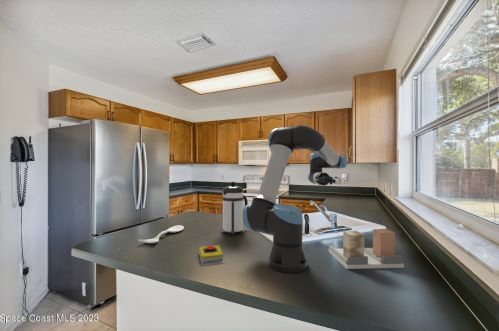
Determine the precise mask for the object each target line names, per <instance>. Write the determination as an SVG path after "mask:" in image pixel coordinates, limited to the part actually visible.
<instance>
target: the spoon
mask: <svg viewBox="0 0 499 331" xmlns="http://www.w3.org/2000/svg"><path fill="white" fill-rule="evenodd" d="M184 228H185V227H184V225H180V224H177V225H174V226H171V227H169V228H167V229H166V230H163V231H161V232H159V234H157V235H156V236H155V237H153V238H148V239H147V238H146V239H138V242H141V243H146V244H156V243H158V242H159V241H160V237H161V236H162V235H164V234H167V233H178V232H181V231H182V230H184Z"/></svg>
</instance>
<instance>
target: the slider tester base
mask: <svg viewBox="0 0 499 331" xmlns="http://www.w3.org/2000/svg"><path fill="white" fill-rule="evenodd" d="M328 253H329V254H330V255H331V256H333V257H334V258H335V259H336V261H338V262H339V263H340V264H341V265H342V266H343V267H344V268H345V269H346V270H351V269H352V270H354V269H357V270H359V269H364V270H365V269H398V268H399V269H401V268H405V264H404V263H403V255H396V254H395V256H382V258H380V257H379V256H377V255H375V254H374V253H373V247H365V246H364V256H347V258H345V257H344V256H343V248H335V247H333V245H328Z"/></svg>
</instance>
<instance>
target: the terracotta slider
mask: <svg viewBox="0 0 499 331" xmlns="http://www.w3.org/2000/svg"><path fill="white" fill-rule="evenodd" d="M395 236H396V232H394V231H392V230H389V229H387V228H377V229H376V228H374V229H372V248H373V253H374V254H375V255H377V256H379V257H380V258H382V256H395V255H396V254H395V253H396V252H395V249H396V248H395V247H396V246H395V243H396V239H395V238H396V237H395Z"/></svg>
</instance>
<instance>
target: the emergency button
mask: <svg viewBox="0 0 499 331" xmlns="http://www.w3.org/2000/svg"><path fill="white" fill-rule="evenodd" d="M198 250H199V251H198V255H199V256H198V257H199V260H200V264H201V266H204V267H205V266H209V265H219V264H224V263H225V261H224V253H223V252H222V249H221V247H220V245H208V246H207V245H206V246H201V247H199V248H198Z"/></svg>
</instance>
